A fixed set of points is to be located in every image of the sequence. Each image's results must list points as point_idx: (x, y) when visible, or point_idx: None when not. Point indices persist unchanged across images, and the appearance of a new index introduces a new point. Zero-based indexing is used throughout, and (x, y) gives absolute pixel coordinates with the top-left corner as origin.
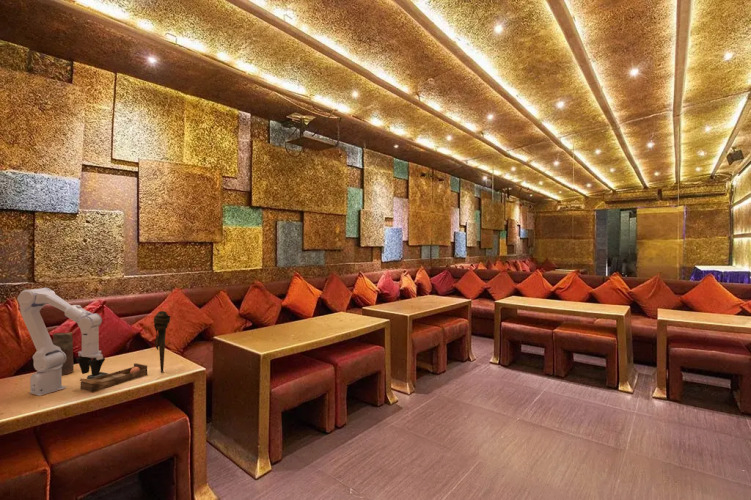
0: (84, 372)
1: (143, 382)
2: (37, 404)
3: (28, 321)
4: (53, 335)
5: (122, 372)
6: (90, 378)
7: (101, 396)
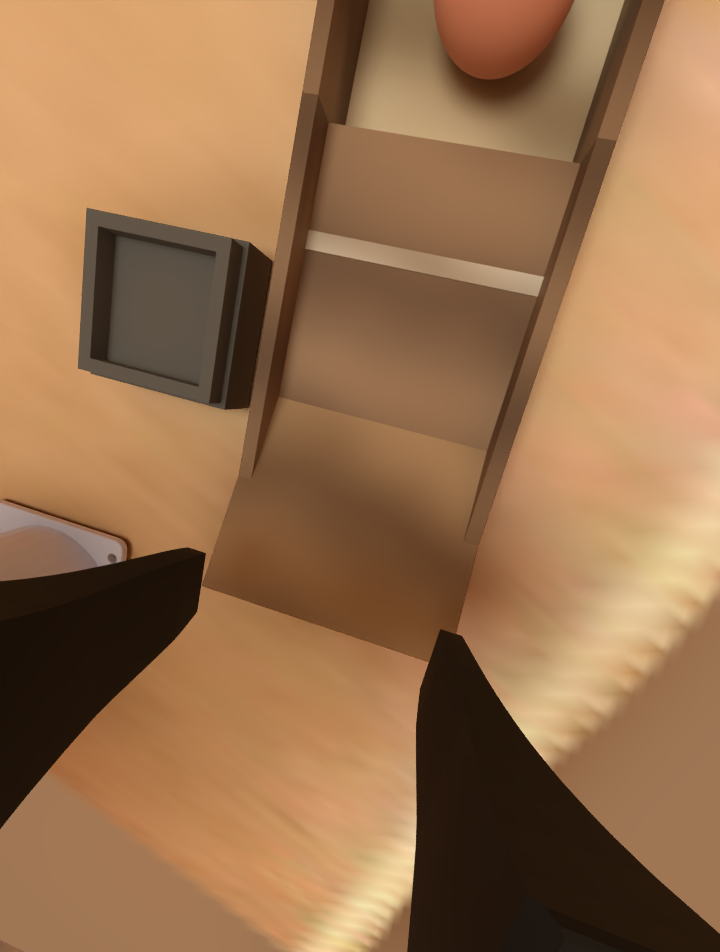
0: (189, 607)
1: None
2: (256, 804)
3: None
4: None
5: (331, 91)
6: (155, 390)
7: (629, 679)
